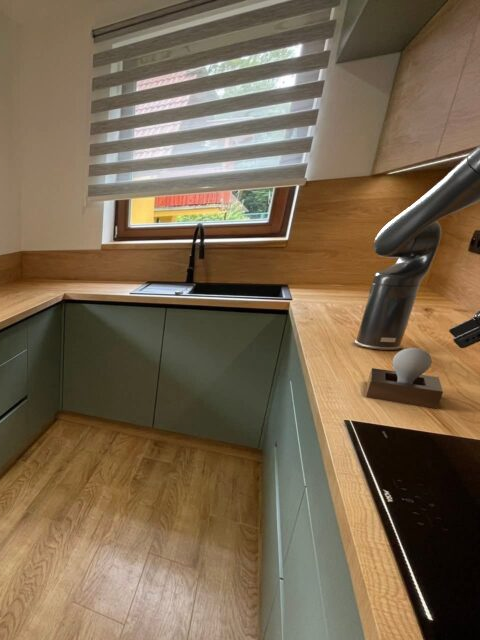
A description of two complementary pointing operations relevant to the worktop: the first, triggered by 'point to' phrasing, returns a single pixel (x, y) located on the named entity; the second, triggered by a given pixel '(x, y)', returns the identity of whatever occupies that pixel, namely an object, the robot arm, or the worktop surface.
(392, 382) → the socket block
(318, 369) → the worktop surface
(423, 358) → the light bulb
